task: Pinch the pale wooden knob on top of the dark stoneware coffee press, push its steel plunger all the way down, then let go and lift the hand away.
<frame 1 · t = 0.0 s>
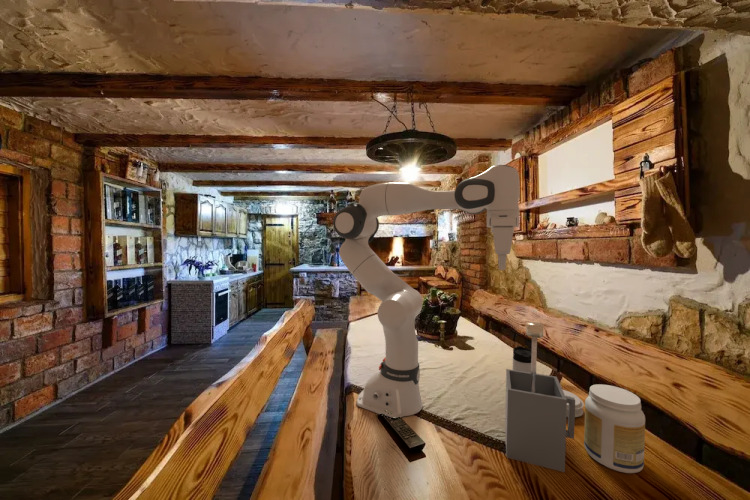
hand: (501, 268, 89), 48 cm above the table, tool pointing down, fingers open, 8 cm apart
supplement tub: (612, 458, 78), on the table
travel mug: (521, 408, 100), on the table
plunger: (533, 365, 80), point 23 cm above the table, slide at 10.0 cm
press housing: (531, 447, 81), on the table
lid: (560, 409, 100), on the table
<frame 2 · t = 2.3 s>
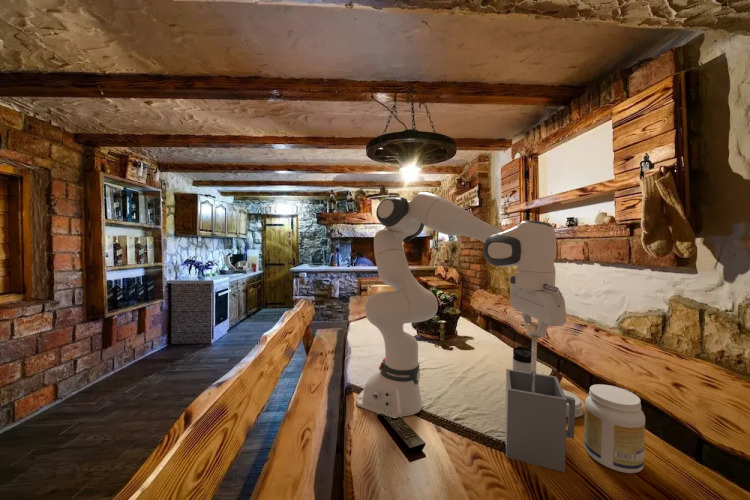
hand: (534, 333, 80), 32 cm above the table, tool pointing down, fingers closed on plunger, 4 cm apart
plunger: (533, 365, 80), point 23 cm above the table, slide at 10.0 cm, touching gripper
everything else where it was.
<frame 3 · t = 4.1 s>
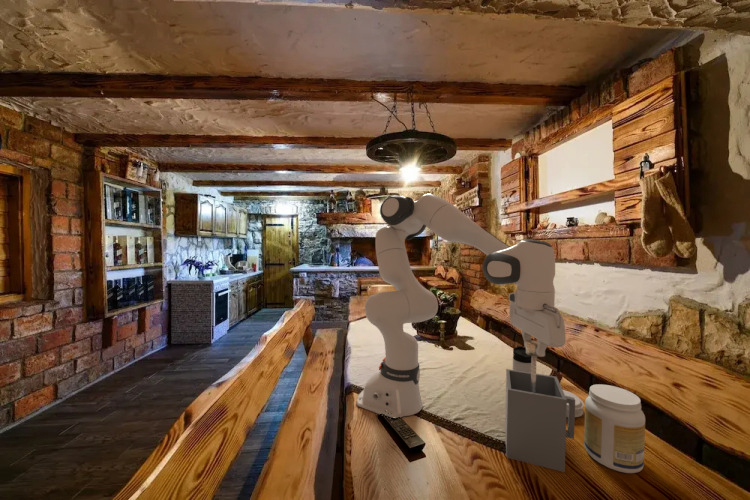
hand: (534, 351, 80), 27 cm above the table, tool pointing down, fingers closed on plunger, 4 cm apart
plunger: (533, 383, 80), point 18 cm above the table, slide at 4.9 cm, touching gripper
everything else where it was.
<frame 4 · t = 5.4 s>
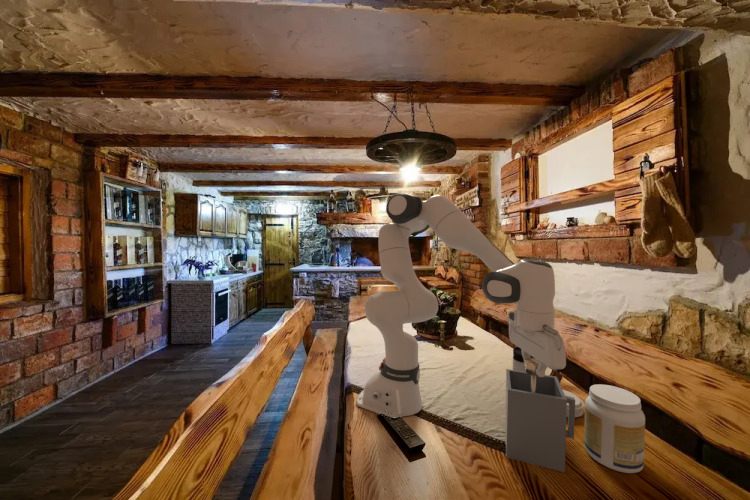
hand: (533, 371, 80), 21 cm above the table, tool pointing down, fingers closed on plunger, 4 cm apart
plunger: (532, 402, 81), point 13 cm above the table, slide at -0.1 cm, touching gripper
everything else where it was.
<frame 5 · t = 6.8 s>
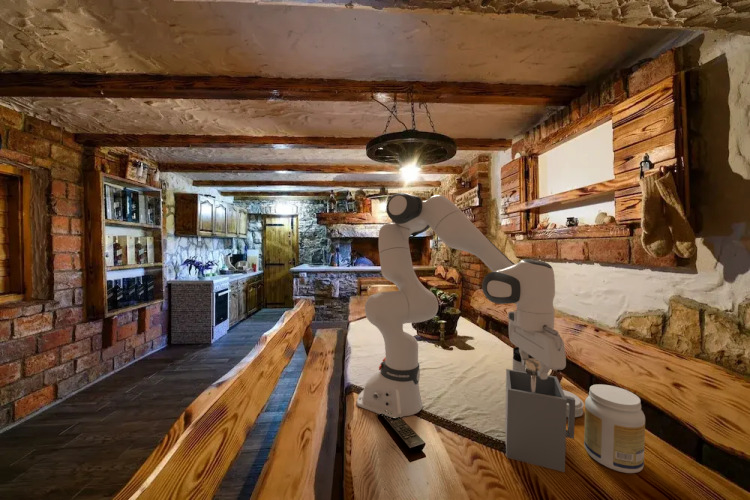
hand: (533, 371, 80), 21 cm above the table, tool pointing down, fingers open, 6 cm apart
plunger: (532, 402, 81), point 13 cm above the table, slide at -0.1 cm
everything else where it was.
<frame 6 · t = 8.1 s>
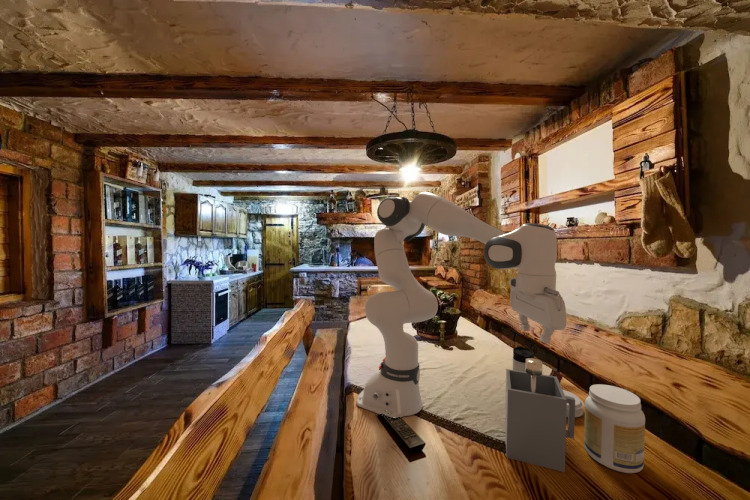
hand: (534, 335, 80), 31 cm above the table, tool pointing down, fingers open, 8 cm apart
nothing on the table moved.
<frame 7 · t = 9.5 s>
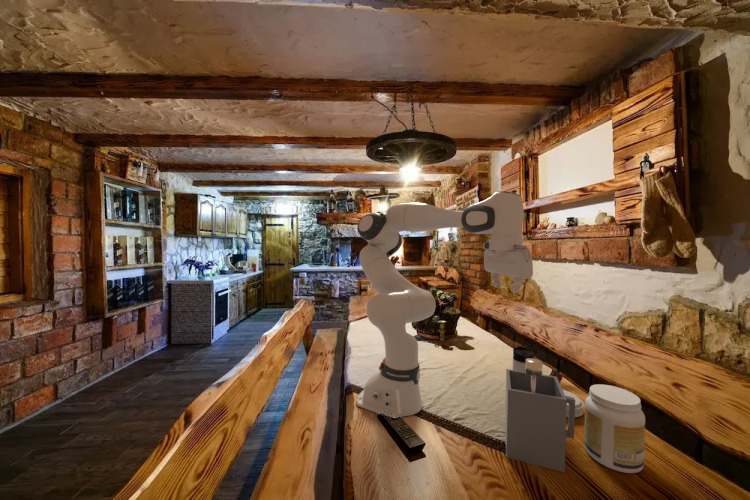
hand: (505, 289, 92), 41 cm above the table, tool pointing down, fingers open, 8 cm apart
nothing on the table moved.
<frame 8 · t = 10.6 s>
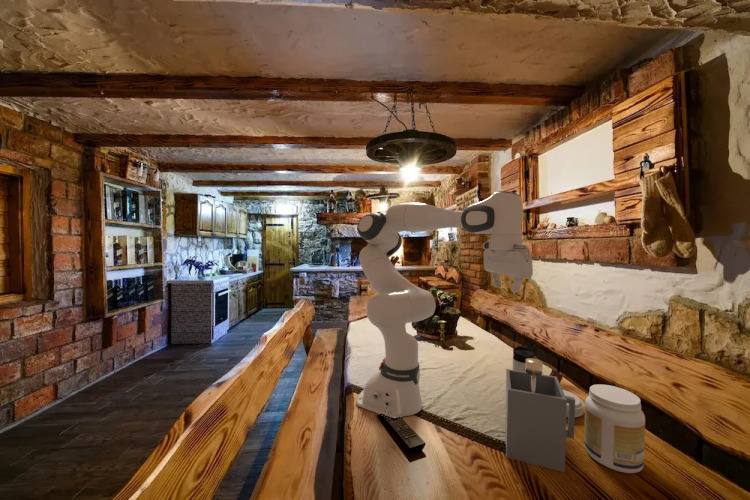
hand: (505, 289, 92), 41 cm above the table, tool pointing down, fingers open, 8 cm apart
nothing on the table moved.
at the end: plunger slide at -0.1 cm; the gripper is holding nothing; supplement tub moved 0.2 cm from its start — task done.
